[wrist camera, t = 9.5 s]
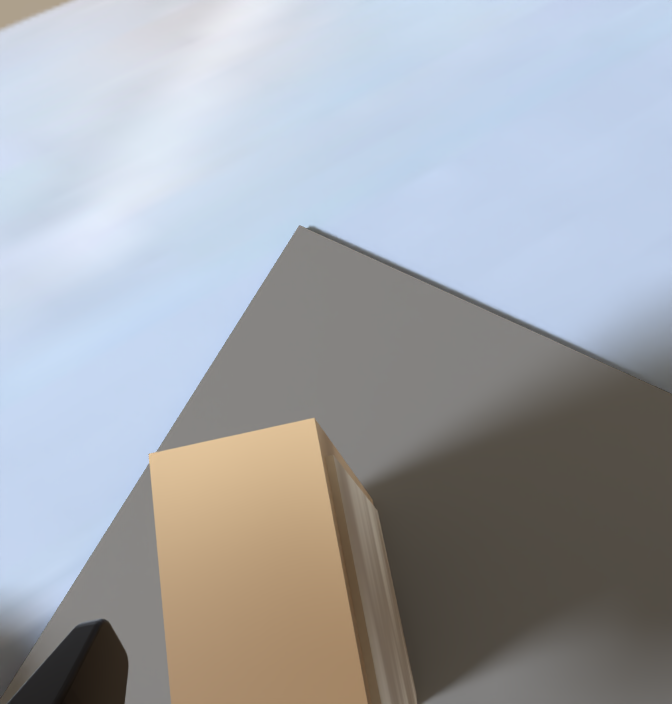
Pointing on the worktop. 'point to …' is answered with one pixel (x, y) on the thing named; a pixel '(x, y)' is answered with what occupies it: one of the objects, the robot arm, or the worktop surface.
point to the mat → (438, 487)
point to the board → (274, 574)
